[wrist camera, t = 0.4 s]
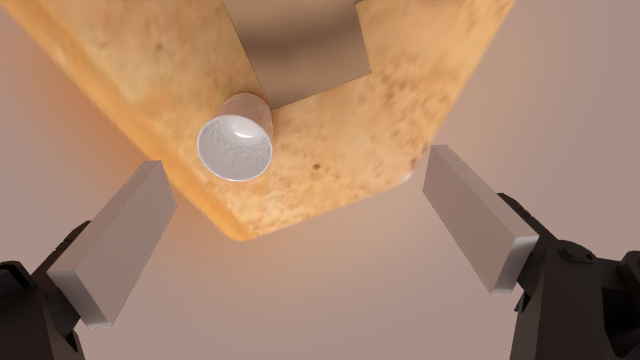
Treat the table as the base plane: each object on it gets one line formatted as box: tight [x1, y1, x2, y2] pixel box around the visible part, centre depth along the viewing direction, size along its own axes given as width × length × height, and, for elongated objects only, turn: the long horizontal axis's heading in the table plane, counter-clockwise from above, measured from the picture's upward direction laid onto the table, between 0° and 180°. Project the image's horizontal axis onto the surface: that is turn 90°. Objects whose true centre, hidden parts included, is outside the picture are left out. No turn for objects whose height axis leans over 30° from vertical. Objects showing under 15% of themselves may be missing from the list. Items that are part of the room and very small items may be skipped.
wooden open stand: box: [222, 0, 372, 110], centre depth 30 cm, size 11×10×11 cm
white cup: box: [197, 92, 273, 182], centre depth 36 cm, size 8×8×10 cm
